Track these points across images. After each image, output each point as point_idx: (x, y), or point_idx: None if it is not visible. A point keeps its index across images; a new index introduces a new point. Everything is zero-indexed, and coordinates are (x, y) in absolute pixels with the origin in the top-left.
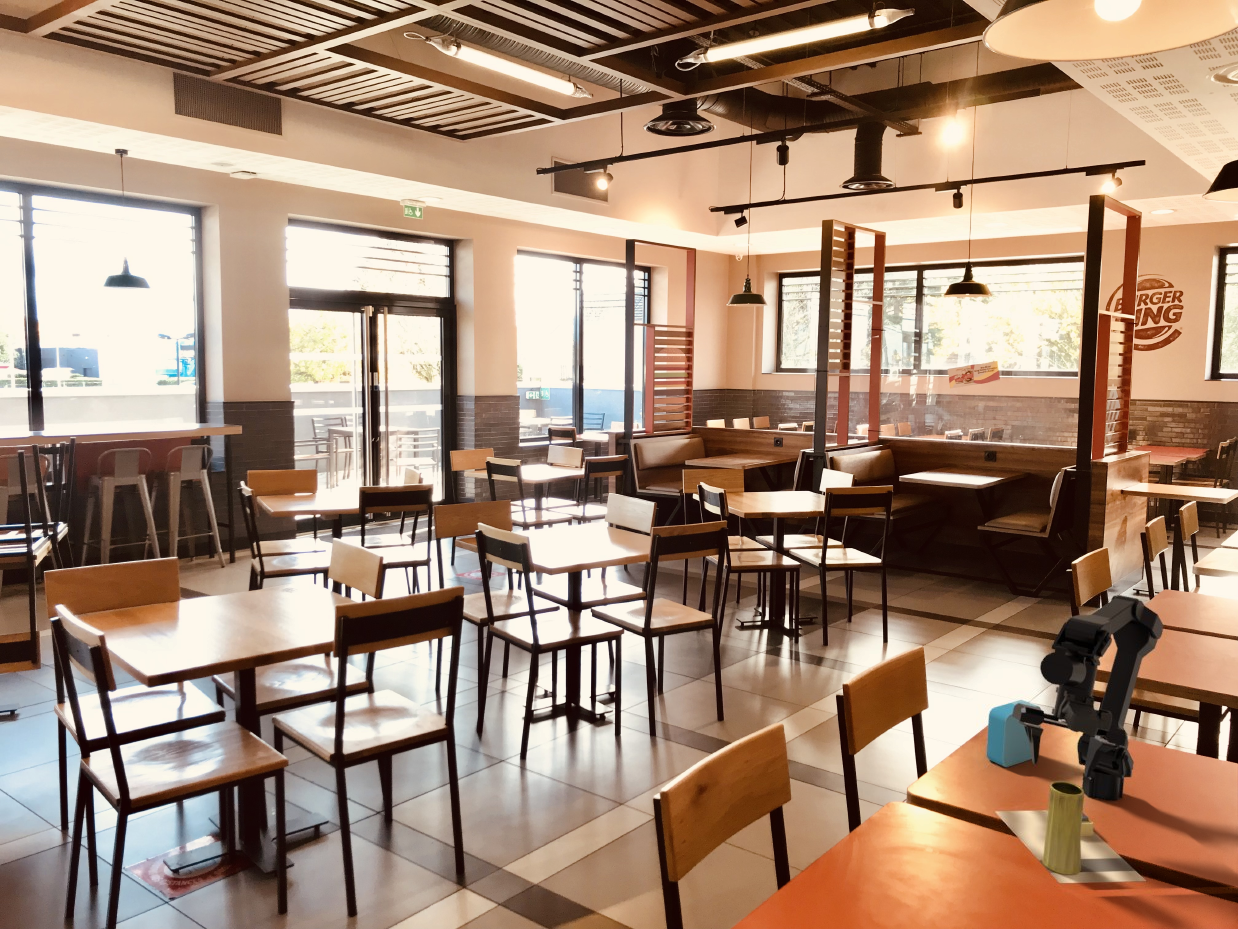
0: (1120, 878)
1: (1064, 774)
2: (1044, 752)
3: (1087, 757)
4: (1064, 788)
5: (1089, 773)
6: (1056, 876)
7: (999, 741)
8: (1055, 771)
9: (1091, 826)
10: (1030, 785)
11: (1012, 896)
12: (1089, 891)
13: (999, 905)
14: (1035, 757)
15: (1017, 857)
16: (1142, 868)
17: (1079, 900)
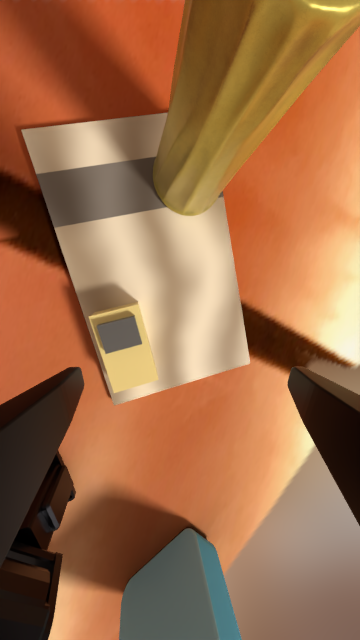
0: (78, 136)
1: (89, 542)
2: (107, 605)
3: (36, 479)
4: (277, 48)
5: (61, 374)
6: None
7: (214, 590)
8: (104, 546)
9: (94, 314)
10: (160, 481)
11: None
12: (152, 105)
13: None
14: (326, 381)
15: (248, 221)
16: (17, 212)
17: None
